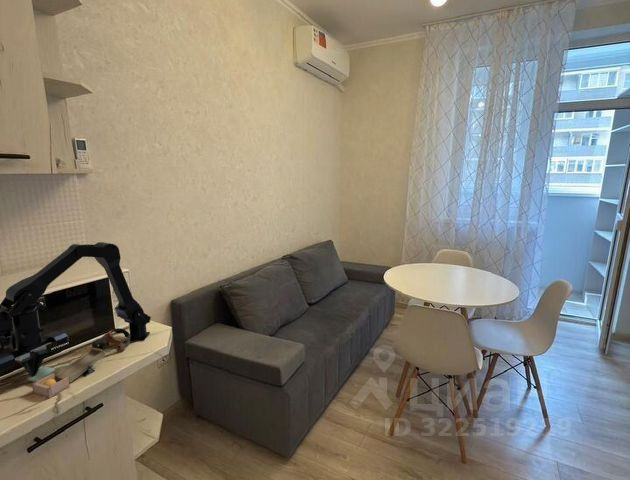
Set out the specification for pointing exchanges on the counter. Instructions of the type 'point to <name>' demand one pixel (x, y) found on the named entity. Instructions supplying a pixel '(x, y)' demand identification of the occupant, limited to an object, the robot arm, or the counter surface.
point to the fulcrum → (88, 372)
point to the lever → (71, 367)
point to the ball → (49, 382)
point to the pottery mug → (112, 340)
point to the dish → (50, 387)
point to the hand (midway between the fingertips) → (33, 375)
